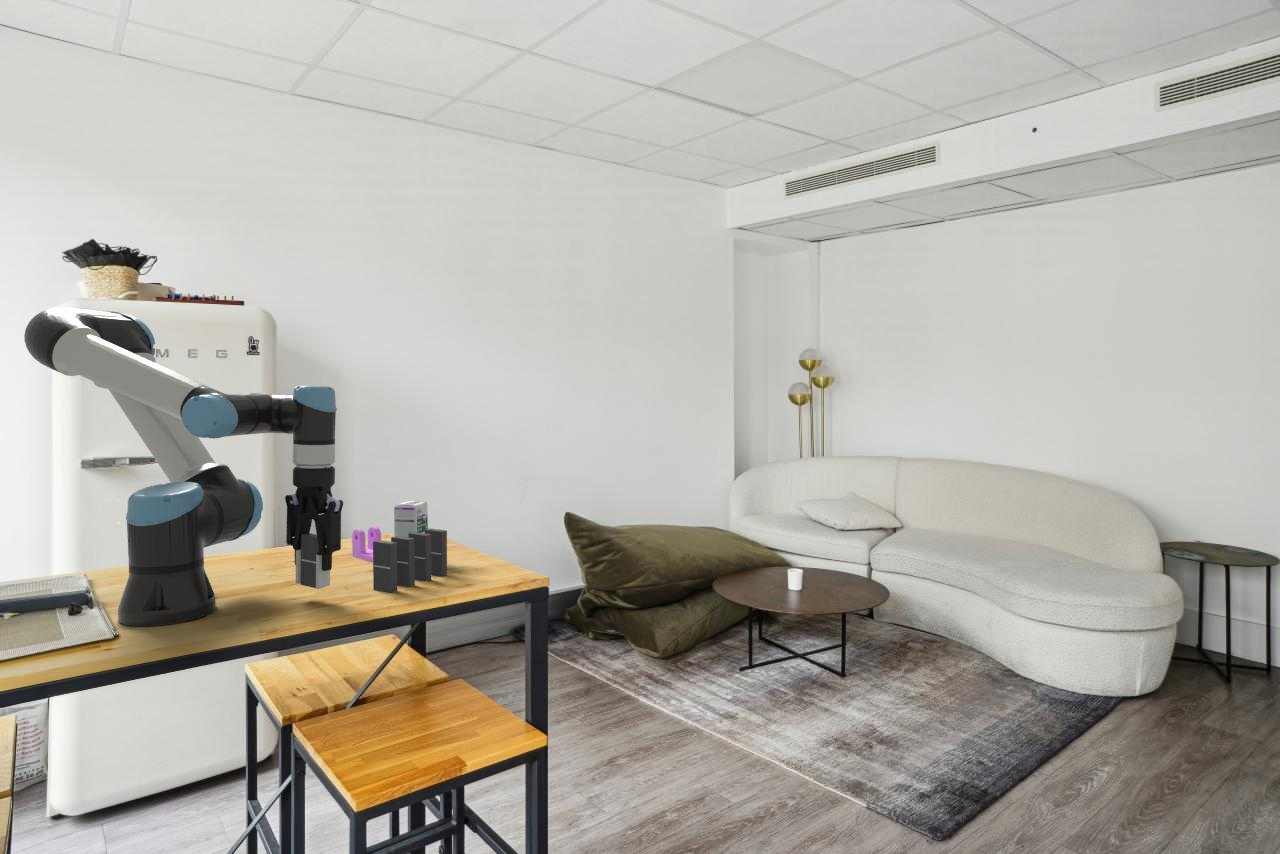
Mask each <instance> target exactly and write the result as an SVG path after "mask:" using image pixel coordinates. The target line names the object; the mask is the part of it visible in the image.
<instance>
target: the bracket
mask: <svg viewBox="0 0 1280 854" xmlns="http://www.w3.org/2000/svg"><path fill="white" fill-rule="evenodd" d="M351 540H352V541H351V543H352V544H351V545H352V546H351V548H352V549H351V550H352V551H351V552H352V553H351V556H353V558H356V559H360V560H363V561H366V560H367V561H366V562H370V563H373V541H377V540H381V541H382V533H381V530H380V528H379V527H378V526H373V527H372V526H371V527H369V528H368V529H367V548H366V533H365V530H363V528H359V529H354V530H353V531H352V533H351Z"/></svg>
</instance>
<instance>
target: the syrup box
mask: <svg viewBox="0 0 1280 854" xmlns="http://www.w3.org/2000/svg"><path fill="white" fill-rule="evenodd" d="M428 517H429V516H428V501H427V502H426V501H419V500H413V501H408V500H407V501H405V502H401V503H397V504H395V505H393V524H394V525H393V528H394V529H393V530H394V531H393V532H394V533H393V535H394V537H395V536H400V537H408V533H412V532H417V533H425V529H429V528H428V527H429V521H428Z"/></svg>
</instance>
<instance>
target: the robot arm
mask: <svg viewBox="0 0 1280 854" xmlns="http://www.w3.org/2000/svg"><path fill="white" fill-rule="evenodd" d="M23 336H24V344H25V347H26V349H27V351H28V353H29V355H31V356H32V358H33V359H34V360H36V361H37V362H38V363H39V364H42V365H43V366H45V367H47V368H49V369H51V370H52V371H56V372H58V373H59V374H62V375H64V376H68V377H76V376H80V377H83V378H85V379H87V380H90V381H92V382H93V384H94V386H96V387H98V388H100V389H107V390H108V391H109V392H110V394H111V395H112V397H113V399H114V400H115V401H116V403H117V405H118V406H119V407H120V409H121V411H122V412H123V413H124V415H125V416H126V418H127V419H128V421H129V422H130V424H131V425H132V427H133V428H134V431H136V433H137V434H138V436H139V437H140V438H141V440H142V442H143V443H144V444H145V446H146V448H147V449H148V450H149V452H150V454H151V455H152V457H153V458H154V460H155V461H156V463H157V464H158V466H159V467H160V468H161V470H162V472H163V473H164V474H165V476H166V478H167V479H168V481H169V482H166V483H163V484H161V483H160V484H154V485H151V486H150V485H149V486H146V487H143V488H141V489H140V488H139V489H138V490H136V491H134V492H133V493H132V494H131V495H130V496H129V497H128V499H127V512H126V515H125V520H126V530H127V551H128V552H127V553H128V555H127V557H128V579H127V580H126V584H125V587H124V589H123V593H122V596H121V599H120V600H119V601H120V602H119V605H118V607H117V613H118V614H117V619H118V622H119V623H120V624H123V625H126V626H133V627H134V626H135V627H151V626H152V627H153V626H154V627H155V626H163V625H164V626H165V625H172V624H173V625H174V624H178V623H184V622H189V621H192V620H195V619H200V618H202V617H205V616H208V615H209V614H212V613H213V612H214V611H215V610H216V608H217V606H216V604H217V603H216V595H215V592H214V590H213V587H212V585H211V582H210V579H209V578H208V575H207V573H206V569H205V558H204V556H205V553H204V552H205V551H204V550H205V549H204V548H208V547H210V546H211V547H212V546H214V545H219V544H222V543H225V542H232V541H235V540H238V539H239V538H241V537H244V536H246V535H248V534H250V533H251V532H252V531H254V530H255V529H256V527H257V526H258V525H259V523H260V521H261V519H262V512H263V510H264V502H263V498H262V494H261V492H260V491H259V489H258V488H257V486H256V485H254V484H253V483H252V482H250V481H248V480H244V479H240V478H238V479H237V477H236V476H235V474H234V473H233V472H232V470H231V469H230V467H229V466H228V465H227V464H224V463H218V462H216V461H215V460H214V458H213V456H211V454H210V452H209V451H208V450H207V447H205V445H204V444H203V442H202V441H201V439H203V438H204V439H205V438H206V439H207V438H208V439H220V438H224V437H225V438H226V437H235V436H246V435H256V434H257V435H259V434H288V435H289V434H290V435H291V434H292V439H293V441H292V464H294V465H295V466H293V468H292V485H293V486H294V487H296V490H295V493H293V494H286V495H285V496H284V500H285V504H286V538H285V539H286V541H285V542H286V543H285V544H287V545H288V546H292V549H293V550H294V565H295V584H300V585H301V534H305V533H311V527H312V523H313V521H314V526H315V532H316V533H315V534H317V539H318V545H319V552H317V554H316V588H315V589H317V588H320V589H323V588H326V587H328V586H331V570H332V568H333V553H335V552H337V551H338V552H339V551H341V549H342V509H343V507H344V501H343V500H342V499H339V500H337V499H335V498H333V493H332V487H333V486H334V485H335V483H336V468H335V467H334V464H335V462H336V418H337V417H336V415H337V405H336V404H337V403H336V391H335V389H334V388H333V387H331V386H327V385H326V386H325V385H296V386H294V388H293V392H292V394H288V395H287V394H275V393H273V394H272V393H262V392H261V393H259V392H256V393H255V392H250V393H243V394H240V393H239V394H236V393H235V394H229V393H225V392H222V391H220V390H217V389H215V388H212V387H210V386H208V385H206V384H204V383H201V382H199V381H198V380H195V379H192V378H190V377H188V376H186V375H183V374H181V373H179V372H177V371H174V370H172V369H170V368H167V367H166V366H163V365H161V364H158V363H156V361H157V360H156V358H155V354H156V348H155V347H154V345H155V344H156V341H155V340H156V339H155V337H154V335H153V332H152V330H151V329H150V328H149V327H148V325H147V324H146V323H145V322H144V321H142V320H140V319H139V318H137V317H135V316H133V315H129V314H125V313H122V312H118V311H98V310H91V309H82V308H74V307H67V306H57V307H51V308H47V309H45V310H43V311H40V312H39V313H37V314H36V315H34V316H33V317H32V318H31V319H30V321H28V324H27V325H26V328H25V331H24V335H23ZM200 438H201V439H200ZM325 546H326V547H325ZM322 587H323V588H322Z"/></svg>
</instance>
